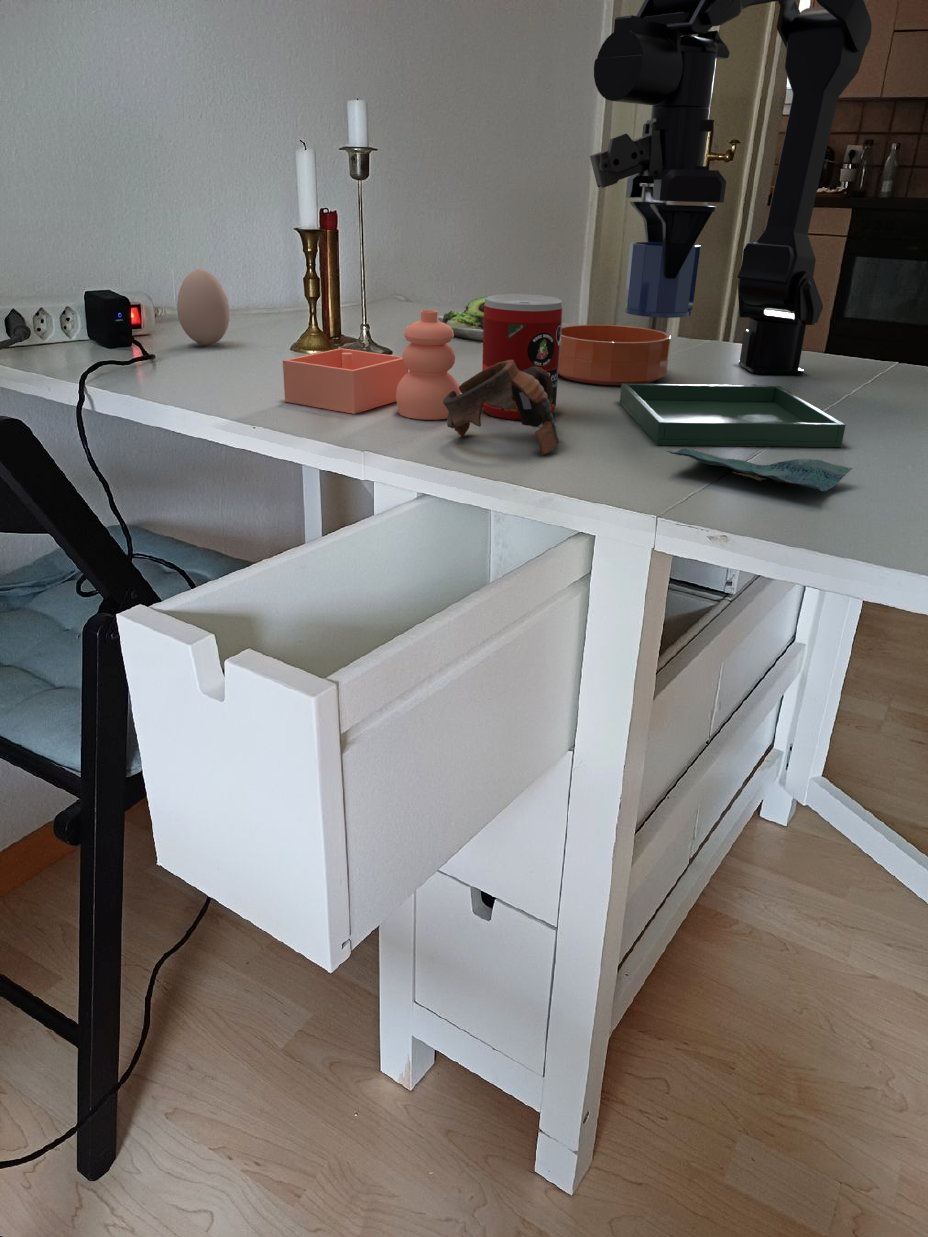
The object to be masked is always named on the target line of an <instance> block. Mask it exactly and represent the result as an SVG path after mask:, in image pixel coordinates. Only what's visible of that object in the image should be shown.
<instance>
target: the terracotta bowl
mask: <svg viewBox="0 0 928 1237" xmlns="http://www.w3.org/2000/svg"><path fill="white" fill-rule="evenodd" d="M671 341H672V335H671V334H669V333H667V332H665V331H661V330H658V329H653V328H647V327H639V326H630V325H617V324H616V325H615V324H576V325H575V324H574V325H565V326H561V340H560V354H559V368H558V376H560V377H562V378H564V379H566V380H569V381H572V382H573V381H574V382H578V383H583V384H592V385H601V386H621V384H652V383H654V382H656V381H657V380H659V379H662V378H665V377H666V376H667V373H668V367H669V360H670V359H669V358H670V348H671Z"/></svg>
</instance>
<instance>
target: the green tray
mask: <svg viewBox="0 0 928 1237" xmlns="http://www.w3.org/2000/svg"><path fill="white" fill-rule="evenodd" d="M619 404H620V406H622V407H623V409H624V410H625V411H626V413H628V414H629V416H631V418H632V419H633V420H634V421H635V422H636V423H637V425H638V426H639V427H640V428H641V429H642V430H643V431H644V433H645V434H646V435H647V436H648V437H649V438H650V439H651V440H652V441H653V443H654V444H655V445H656V446H697V447H703V446H704V447H705V446H708V447H779V448H780V447H783V448H785V447H787V448H788V447H792V448H793V447H795V448H797V447H798V448H842V445H843V441H844V436H845V430H846V424H845V423H844V422H842V421H840V420H838V419H837V418H835V417H833V416H831V415H830V414H829V413H826V412H824V411H823V410H821V409H820V408H818V407H817V406H814V405H813V404H811V403H809V402H808V401H807V400H804V399H803V398H801V397H799V396H798V395H796V394H794V393H792V392H790V390H789V391H788V389H786V388H784V387H782V386H780V385H748V384H747V385H745V384H743V385H742V384H739V385H738V384H736V385H735V384H734V385H732V384H682V383H681V384H675V383H671V384H670V383H646V384H621V385H620V394H619Z"/></svg>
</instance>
